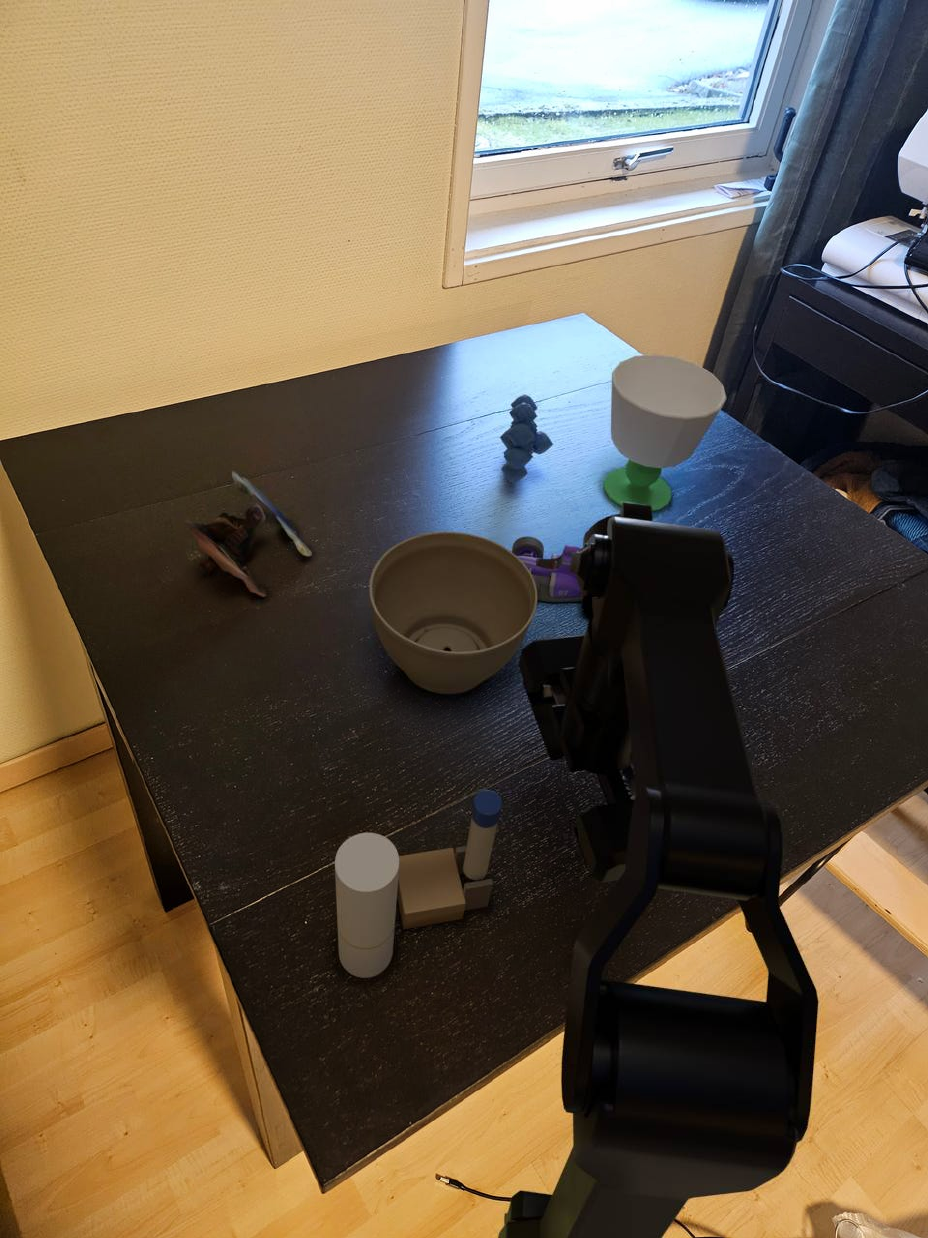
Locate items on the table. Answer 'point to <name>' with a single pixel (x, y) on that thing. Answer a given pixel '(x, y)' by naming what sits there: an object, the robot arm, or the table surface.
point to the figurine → (238, 537)
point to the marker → (481, 834)
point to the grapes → (522, 439)
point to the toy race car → (549, 570)
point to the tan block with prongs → (437, 888)
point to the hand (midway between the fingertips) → (573, 808)
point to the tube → (366, 903)
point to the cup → (657, 422)
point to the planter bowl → (451, 608)
